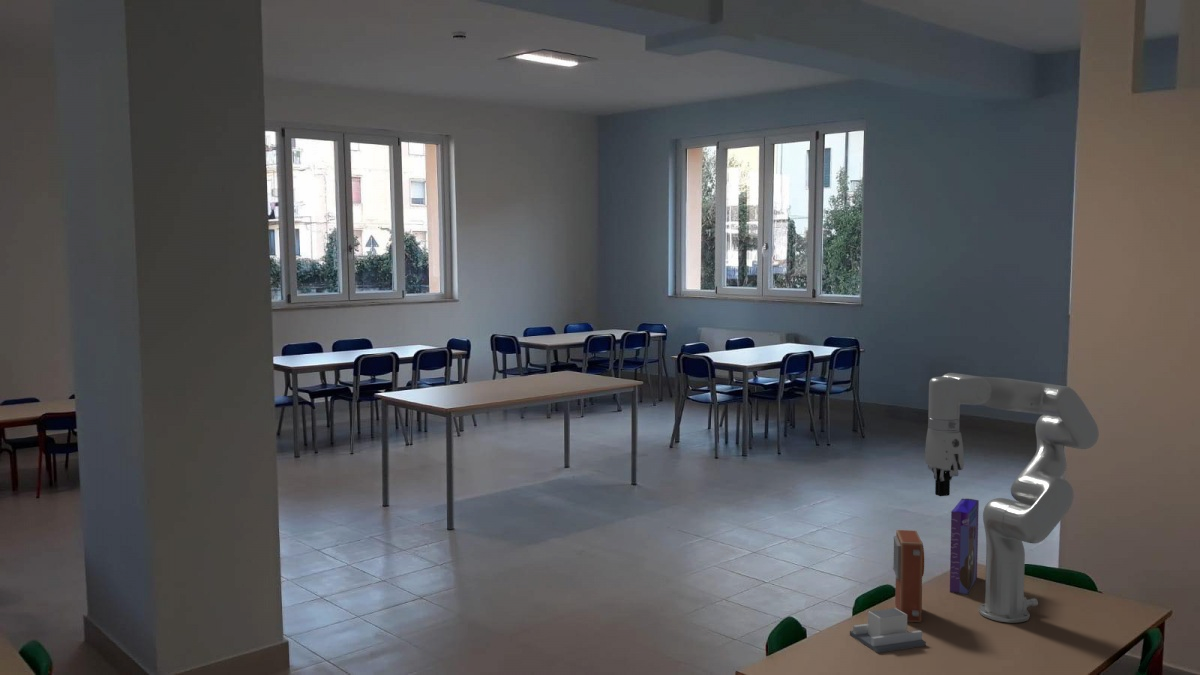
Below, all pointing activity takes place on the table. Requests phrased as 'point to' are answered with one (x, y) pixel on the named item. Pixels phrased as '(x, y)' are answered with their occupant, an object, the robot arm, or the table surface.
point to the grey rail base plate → (887, 639)
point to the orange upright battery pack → (908, 573)
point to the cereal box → (964, 546)
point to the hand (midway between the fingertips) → (942, 495)
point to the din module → (886, 622)
